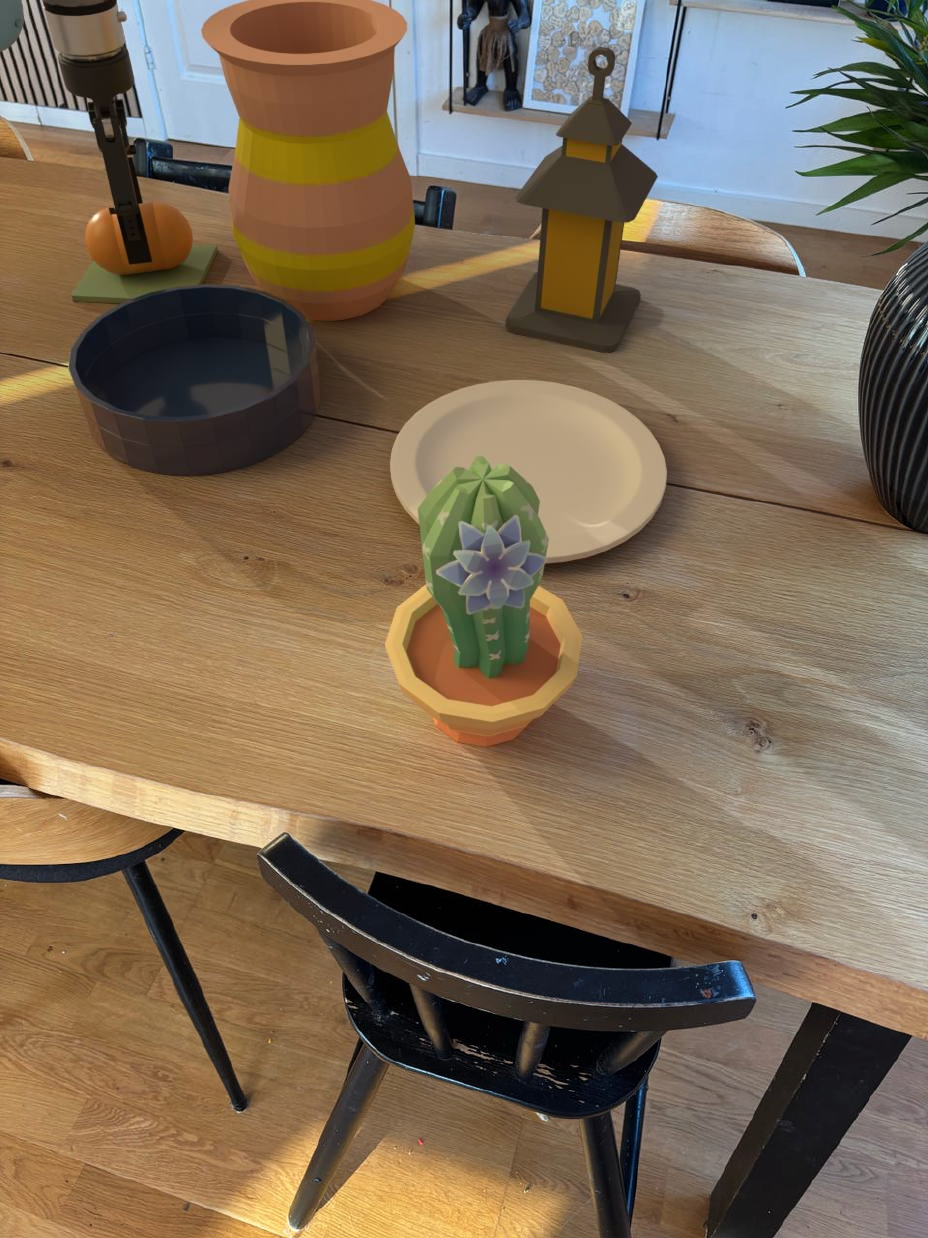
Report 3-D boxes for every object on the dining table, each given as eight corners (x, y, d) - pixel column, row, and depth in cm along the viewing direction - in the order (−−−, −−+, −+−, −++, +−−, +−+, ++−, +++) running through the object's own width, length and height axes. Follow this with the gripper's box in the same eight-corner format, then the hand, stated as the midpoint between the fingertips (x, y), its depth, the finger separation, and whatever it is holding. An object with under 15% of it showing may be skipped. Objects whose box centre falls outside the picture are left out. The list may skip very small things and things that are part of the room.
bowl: (54, 468, 101) (32, 413, 96) (127, 332, 118) (112, 278, 113) (298, 482, 100) (289, 427, 95) (336, 343, 117) (331, 289, 112)
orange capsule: (95, 289, 122) (77, 226, 117) (94, 262, 128) (76, 200, 122) (201, 276, 125) (188, 213, 119) (195, 249, 130) (183, 188, 124)
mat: (72, 301, 122) (70, 295, 122) (107, 245, 132) (105, 239, 131) (191, 307, 122) (190, 301, 121) (217, 250, 131) (216, 245, 131)
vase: (436, 257, 131) (434, 2, 108) (387, 348, 116) (373, 76, 94) (281, 235, 134) (248, -16, 111) (215, 321, 120) (161, 52, 97)
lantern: (537, 274, 128) (556, 17, 106) (642, 296, 125) (685, 35, 102) (502, 330, 119) (515, 62, 97) (614, 354, 116) (655, 83, 94)
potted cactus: (354, 736, 80) (326, 505, 61) (441, 609, 89) (439, 375, 70) (529, 810, 75) (556, 586, 57) (600, 669, 84) (644, 437, 66)
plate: (703, 554, 94) (708, 536, 92) (415, 594, 90) (415, 576, 88) (615, 384, 112) (618, 367, 110) (373, 411, 108) (371, 394, 106)
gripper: (134, 88, 100) (176, 281, 115) (121, 8, 115) (159, 187, 131) (57, 95, 98) (110, 289, 114) (54, 13, 114) (101, 193, 130)
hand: (137, 235), depth 123 cm, fingers open, 13 cm apart
